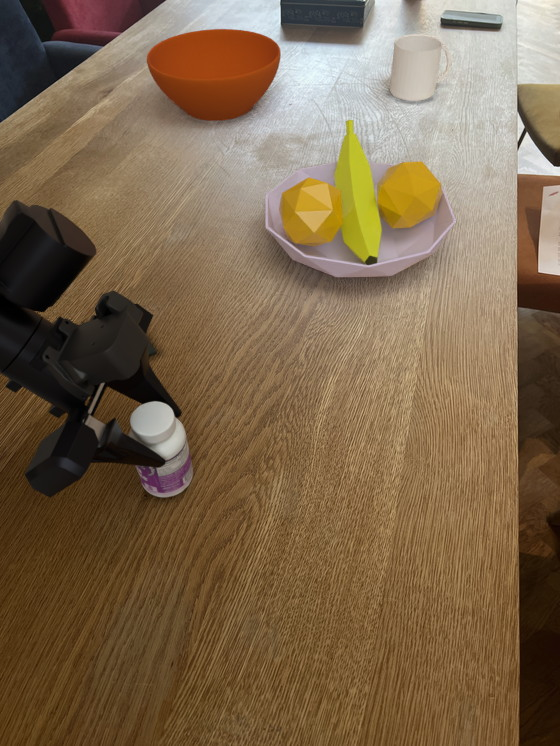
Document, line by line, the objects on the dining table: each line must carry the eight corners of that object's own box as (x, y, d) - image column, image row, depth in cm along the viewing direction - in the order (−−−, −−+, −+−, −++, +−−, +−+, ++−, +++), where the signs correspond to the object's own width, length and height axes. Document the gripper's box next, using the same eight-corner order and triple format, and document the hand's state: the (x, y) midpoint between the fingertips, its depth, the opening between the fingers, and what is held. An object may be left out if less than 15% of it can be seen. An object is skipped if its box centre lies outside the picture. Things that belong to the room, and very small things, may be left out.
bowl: (279, 77, 131) (278, 26, 123) (283, 132, 114) (282, 76, 106) (162, 82, 131) (154, 31, 123) (148, 137, 114) (138, 82, 106)
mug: (393, 102, 121) (399, 52, 114) (385, 83, 127) (390, 35, 120) (453, 99, 121) (463, 49, 115) (443, 81, 128) (451, 32, 121)
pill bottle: (131, 472, 63) (111, 412, 55) (176, 446, 65) (162, 385, 58) (157, 509, 60) (139, 451, 52) (204, 481, 62) (192, 421, 55)
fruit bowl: (437, 315, 79) (453, 241, 70) (238, 280, 84) (231, 208, 76) (459, 200, 97) (474, 131, 88) (294, 178, 102) (294, 111, 94)
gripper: (14, 390, 39) (201, 501, 46) (110, 225, 52) (246, 332, 59) (-50, 449, 46) (121, 538, 53) (49, 290, 58) (177, 379, 65)
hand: (171, 439), depth 57 cm, fingers closed on pill bottle, 5 cm apart
